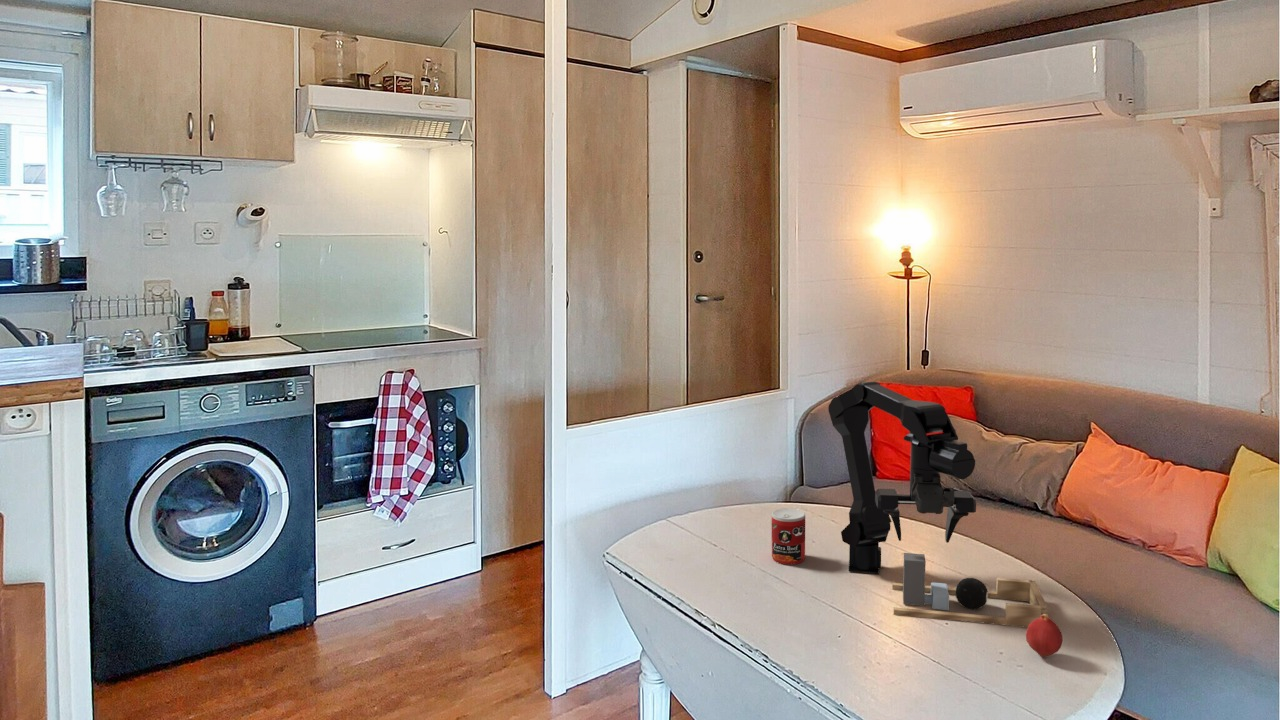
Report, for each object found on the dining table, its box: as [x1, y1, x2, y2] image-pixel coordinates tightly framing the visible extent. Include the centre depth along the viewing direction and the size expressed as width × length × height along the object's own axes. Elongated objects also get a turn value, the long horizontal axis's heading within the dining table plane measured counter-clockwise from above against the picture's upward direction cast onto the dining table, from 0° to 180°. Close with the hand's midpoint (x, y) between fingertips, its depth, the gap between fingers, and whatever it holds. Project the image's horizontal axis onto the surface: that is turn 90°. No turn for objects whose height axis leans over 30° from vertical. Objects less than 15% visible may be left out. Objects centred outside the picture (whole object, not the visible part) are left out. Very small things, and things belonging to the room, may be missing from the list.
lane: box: [891, 582, 1007, 626], centre depth 167 cm, size 20×13×1 cm, turn 74°
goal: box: [996, 577, 1049, 628], centre depth 163 cm, size 7×13×4 cm, turn 164°
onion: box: [1025, 614, 1064, 659], centre depth 145 cm, size 6×6×8 cm
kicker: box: [902, 552, 950, 611], centre depth 168 cm, size 8×6×9 cm
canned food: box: [771, 507, 806, 566], centre depth 193 cm, size 8×8×11 cm
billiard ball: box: [955, 577, 989, 610], centre depth 165 cm, size 6×6×6 cm
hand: (923, 541), depth 168 cm, fingers open, 9 cm apart
